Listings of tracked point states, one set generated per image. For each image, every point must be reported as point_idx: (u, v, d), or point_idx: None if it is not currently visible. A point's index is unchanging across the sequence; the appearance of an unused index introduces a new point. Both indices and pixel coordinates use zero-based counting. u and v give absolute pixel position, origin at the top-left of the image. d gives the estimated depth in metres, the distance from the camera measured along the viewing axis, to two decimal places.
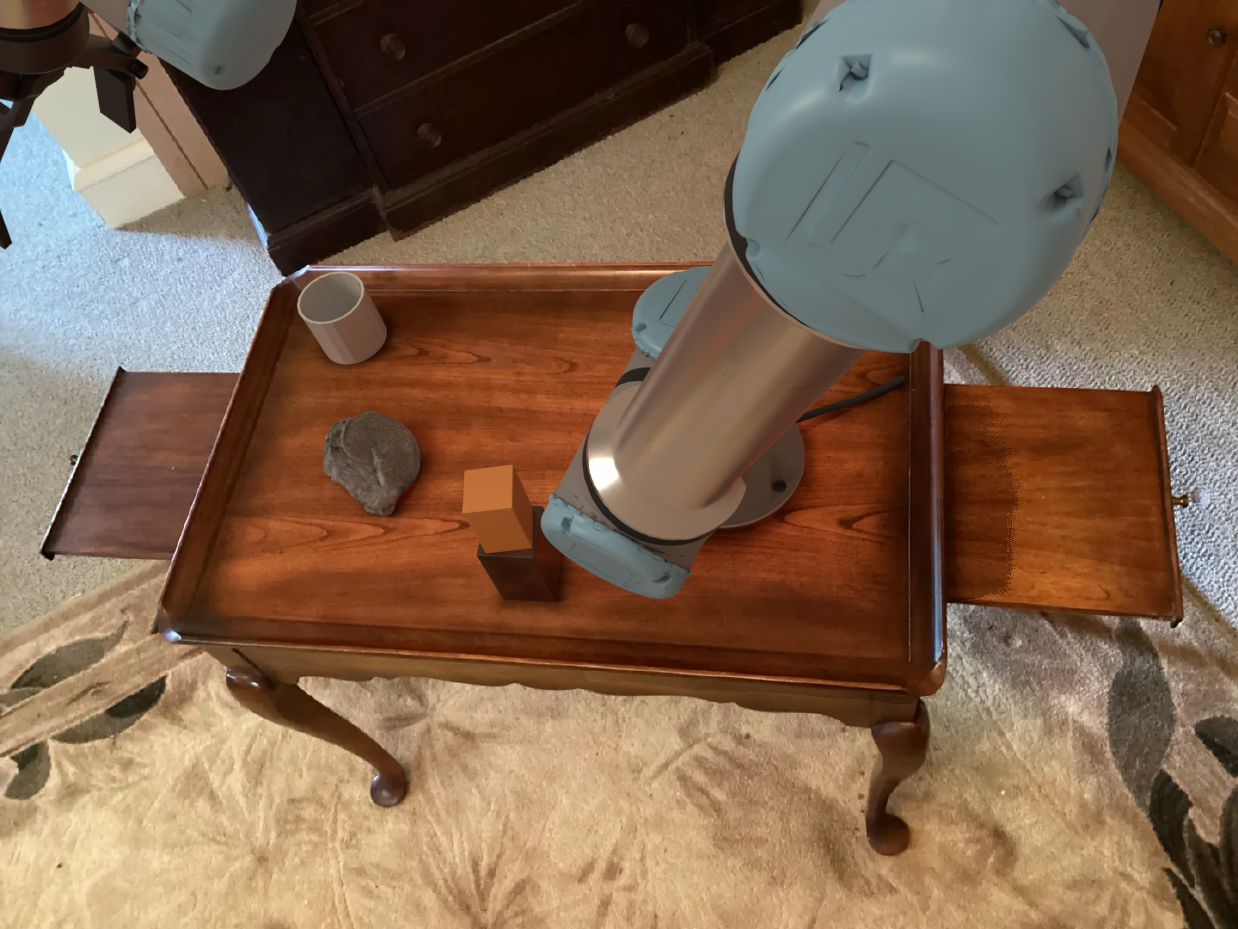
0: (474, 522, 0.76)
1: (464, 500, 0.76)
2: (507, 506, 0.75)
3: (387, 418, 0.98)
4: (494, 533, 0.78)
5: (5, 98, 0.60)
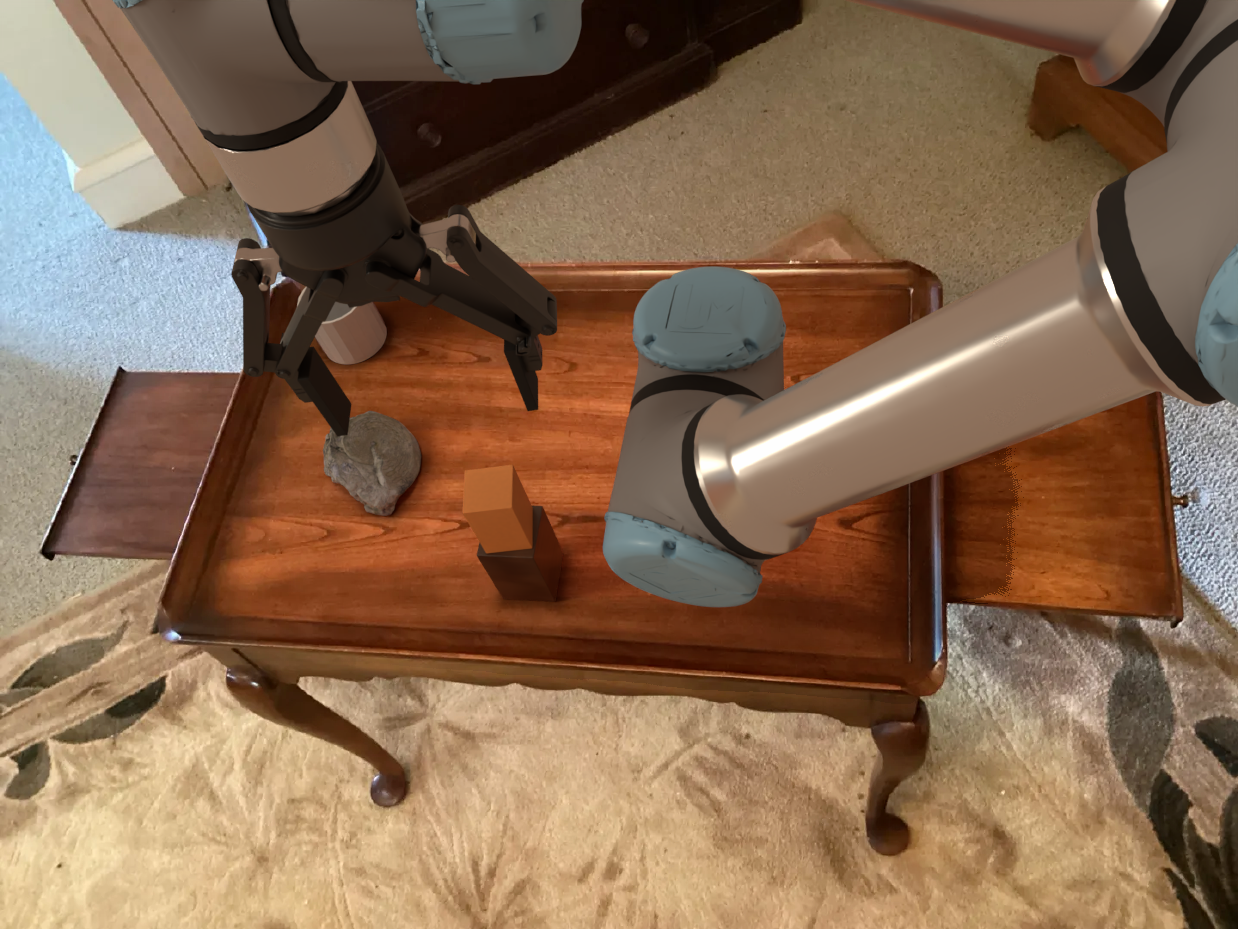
0: (474, 522, 0.76)
1: (464, 500, 0.76)
2: (507, 506, 0.75)
3: (387, 418, 0.98)
4: (494, 533, 0.78)
5: (306, 286, 0.55)
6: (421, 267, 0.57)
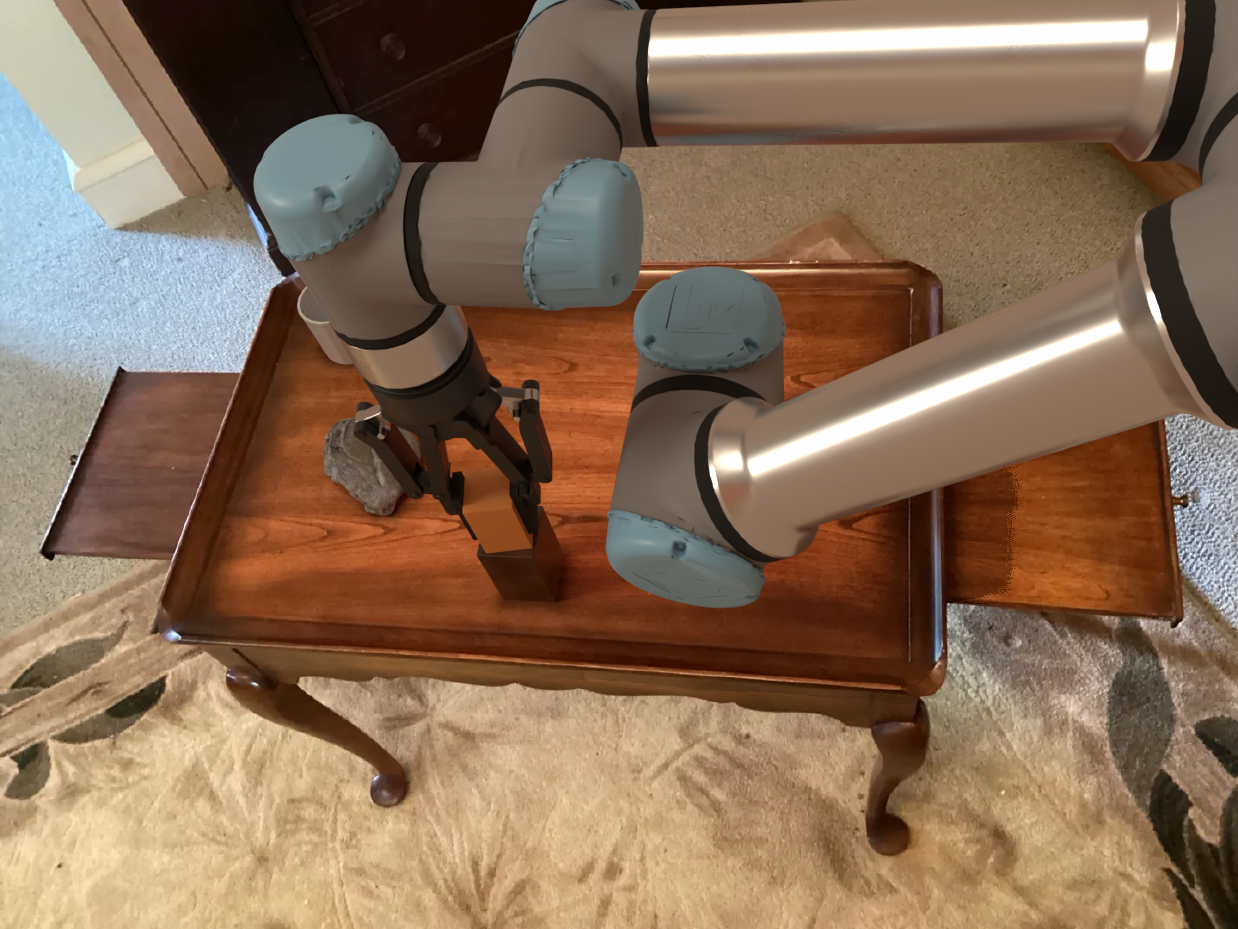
0: (474, 522, 0.76)
1: (464, 500, 0.76)
2: (507, 506, 0.75)
3: None
4: (494, 533, 0.78)
5: (400, 427, 0.67)
6: None
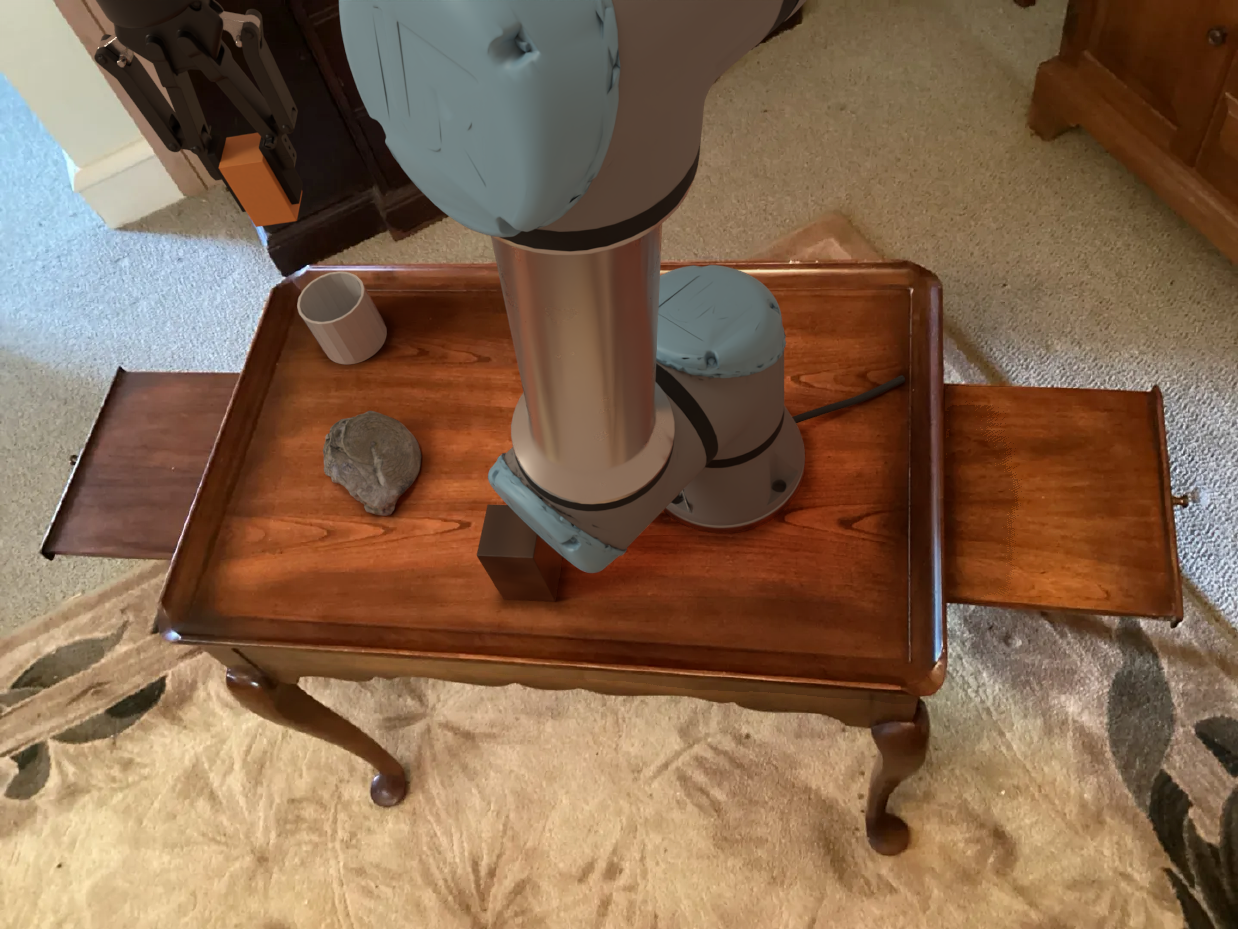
0: (233, 181, 0.84)
1: (222, 158, 0.84)
2: (258, 160, 0.83)
3: (387, 418, 0.98)
4: (256, 197, 0.86)
5: (137, 53, 0.75)
6: None
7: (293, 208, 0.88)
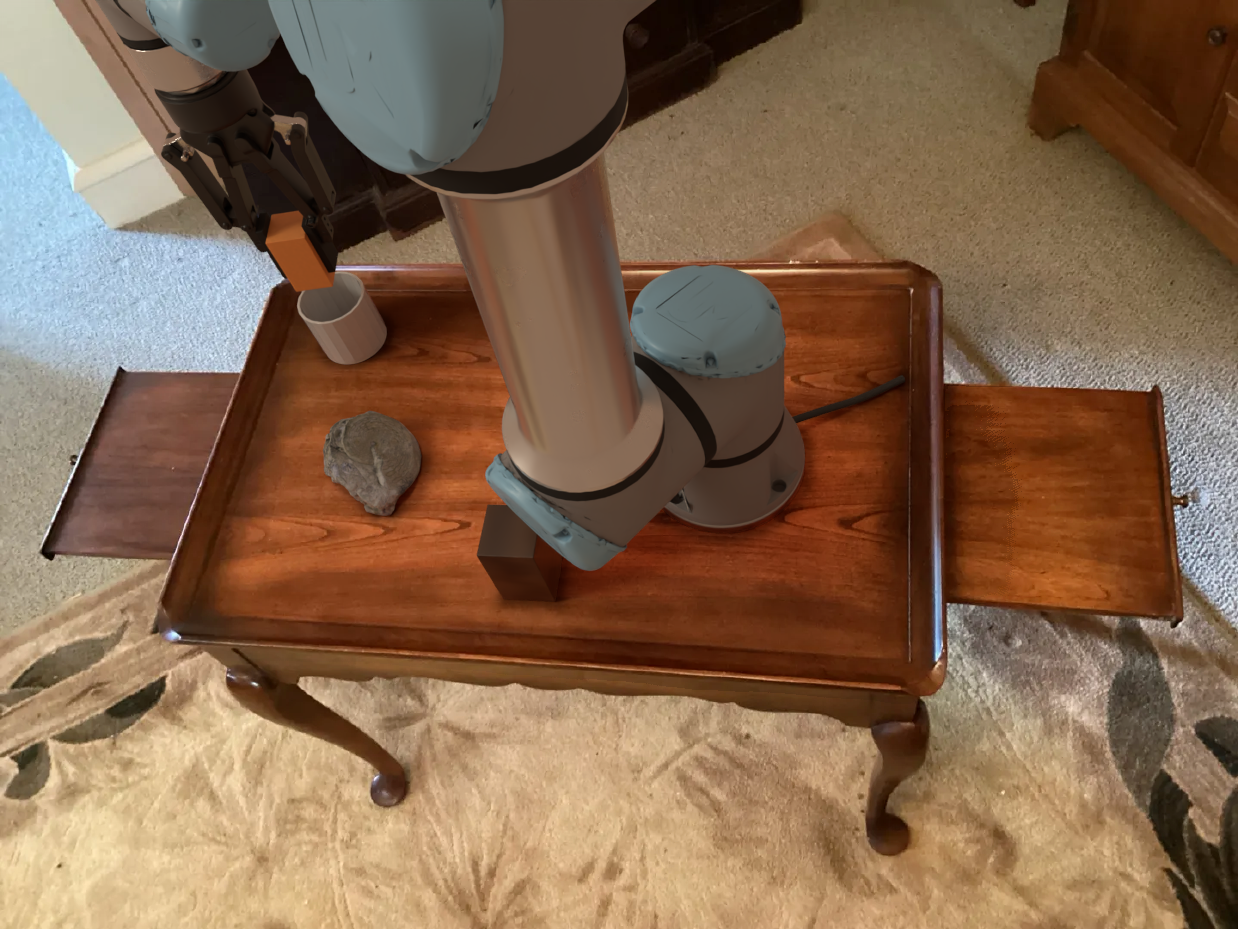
0: (277, 254, 0.95)
1: (268, 234, 0.94)
2: (300, 237, 0.93)
3: (387, 418, 0.98)
4: (297, 267, 0.96)
5: (198, 150, 0.85)
6: None
7: (330, 275, 0.98)
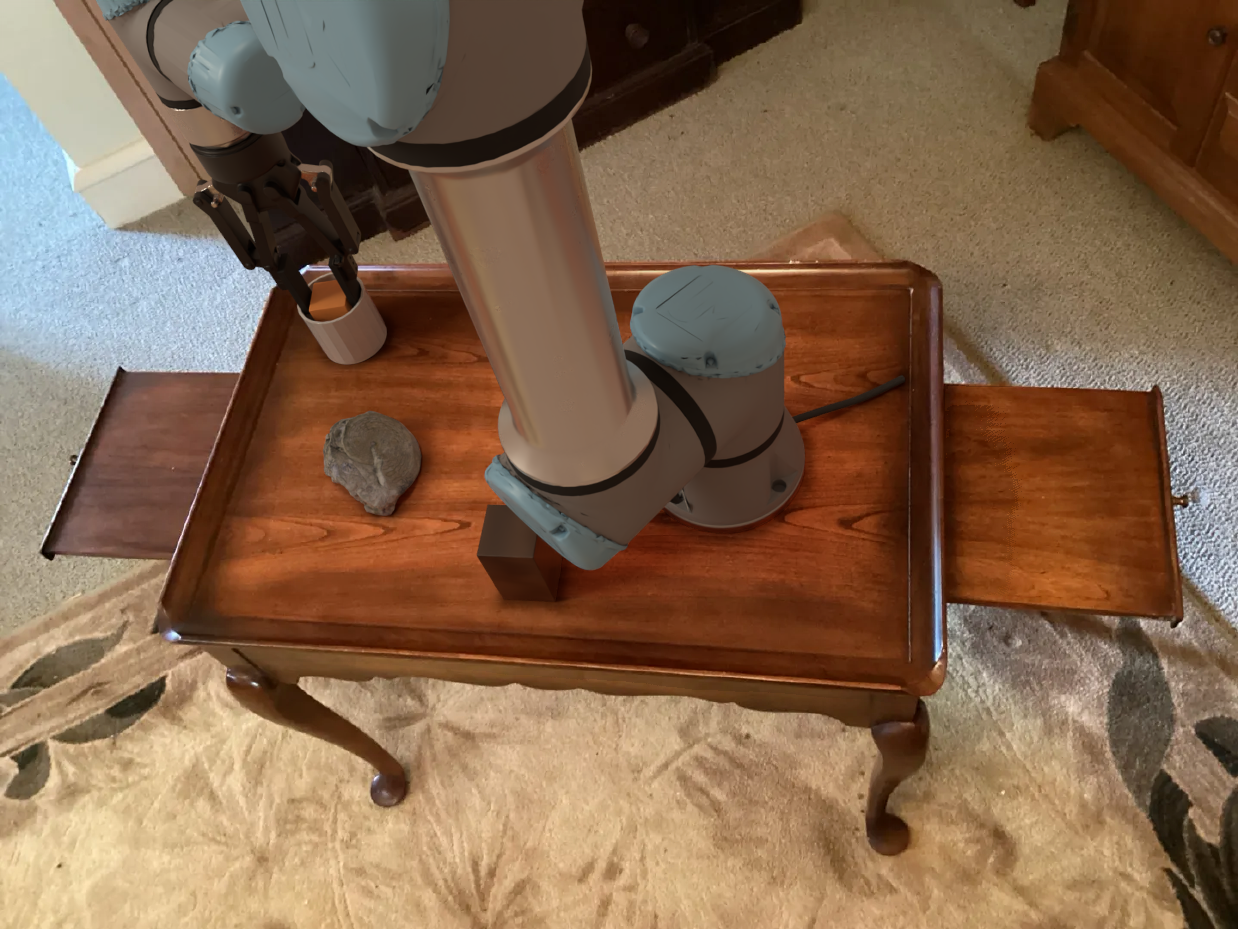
0: (319, 320, 1.03)
1: (311, 302, 1.02)
2: (341, 305, 1.01)
3: (387, 418, 0.98)
4: None
5: (229, 197, 0.90)
6: (302, 188, 0.92)
7: None
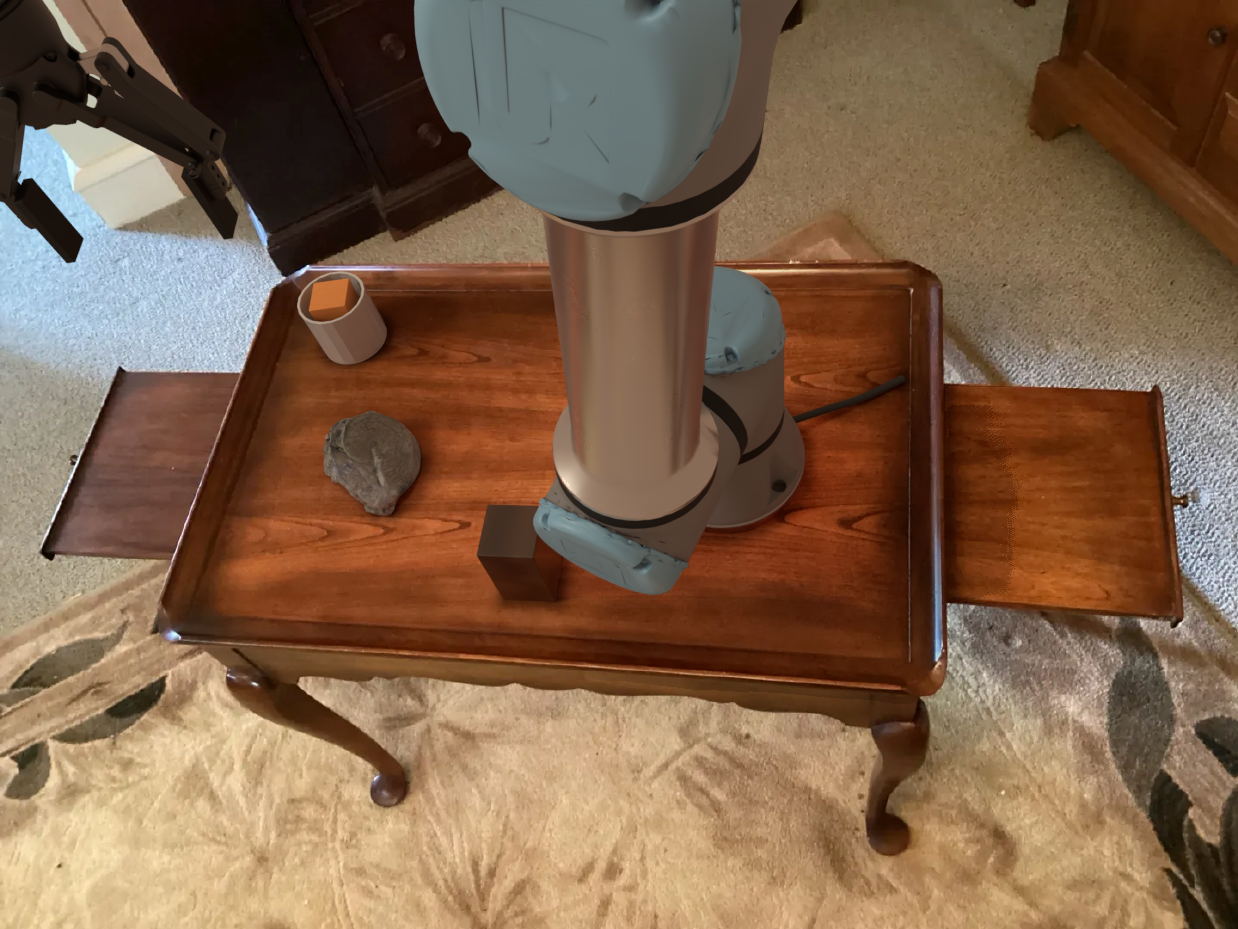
0: (319, 320, 1.03)
1: (311, 302, 1.02)
2: (341, 305, 1.01)
3: (387, 418, 0.98)
4: None
5: None
6: (97, 97, 0.69)
7: None
